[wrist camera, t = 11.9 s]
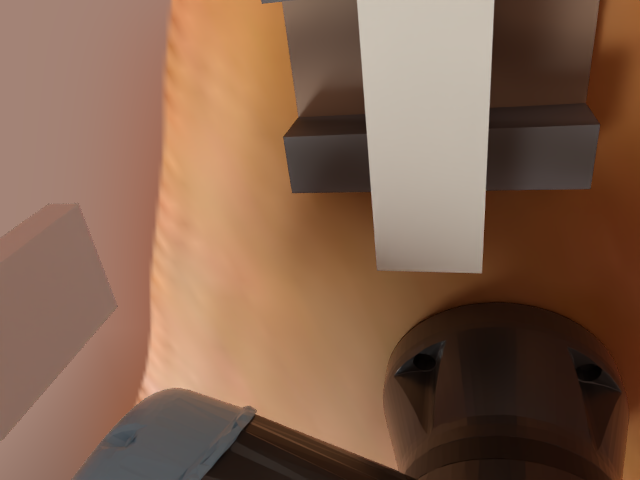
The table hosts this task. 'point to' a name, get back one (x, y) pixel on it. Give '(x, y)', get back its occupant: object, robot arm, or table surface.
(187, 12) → the table surface
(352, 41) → the dark grey rimmed tray
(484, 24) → the clay strip
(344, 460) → the robot arm
